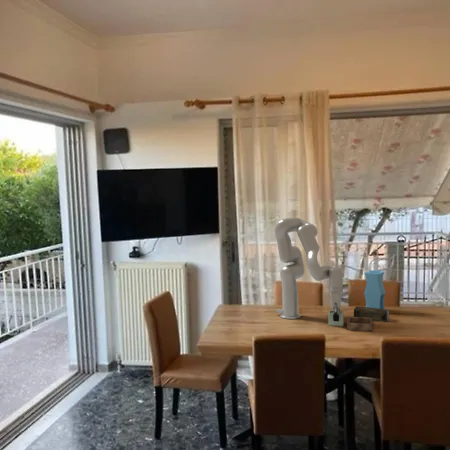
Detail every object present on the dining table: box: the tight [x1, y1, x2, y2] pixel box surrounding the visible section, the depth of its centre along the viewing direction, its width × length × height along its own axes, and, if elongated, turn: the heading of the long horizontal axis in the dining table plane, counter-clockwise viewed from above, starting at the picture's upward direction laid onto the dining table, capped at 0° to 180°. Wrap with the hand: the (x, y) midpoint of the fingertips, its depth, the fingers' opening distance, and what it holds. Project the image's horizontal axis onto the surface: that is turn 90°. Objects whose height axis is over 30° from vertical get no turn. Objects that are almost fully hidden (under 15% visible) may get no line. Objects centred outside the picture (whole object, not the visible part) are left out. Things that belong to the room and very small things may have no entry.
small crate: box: [327, 309, 345, 327], centre depth 257 cm, size 8×6×7 cm
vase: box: [363, 269, 386, 309], centre depth 282 cm, size 10×10×25 cm
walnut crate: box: [346, 316, 373, 332], centre depth 251 cm, size 13×14×4 cm
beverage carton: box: [353, 306, 390, 323], centre depth 266 cm, size 8×19×7 cm, turn 63°
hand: (336, 318), depth 257 cm, fingers open, 9 cm apart
